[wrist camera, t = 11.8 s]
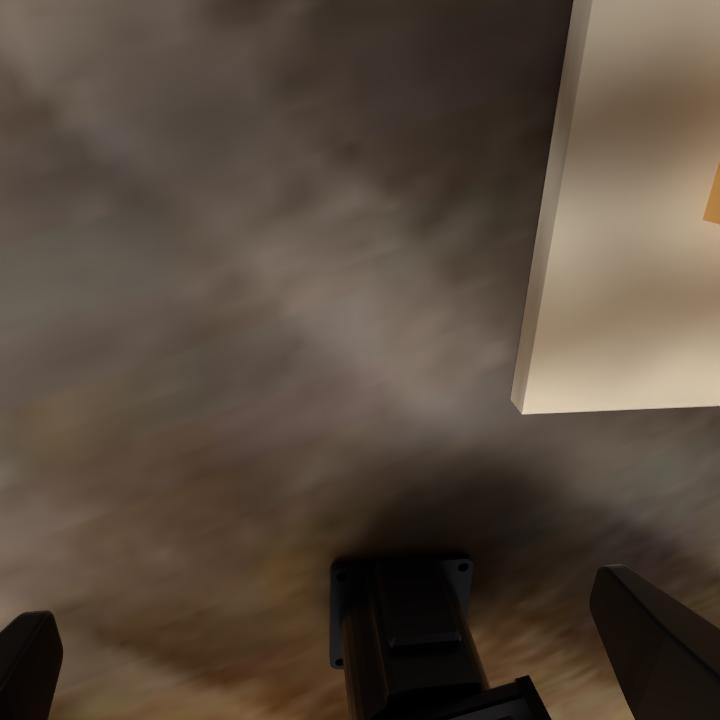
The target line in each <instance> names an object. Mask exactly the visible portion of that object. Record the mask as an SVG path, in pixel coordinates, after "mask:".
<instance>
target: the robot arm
mask: <svg viewBox="0 0 720 720" xmlns="http://www.w3.org/2000/svg"><path fill="white" fill-rule="evenodd" d="M462 563H464V564H462ZM460 564H462V565H460ZM473 569H474V563H473V561H472V558H471V556H470V555H469V554H467V553H462V552H461V553H448V554H434V555H421V556H408V557H394V558H381V559H368V560H354V561H341V562H337V563H335V564H333V565H332V567H331V568H330V644H329V656H330V665H331V667H333V668H335V669H344V672H345V681H346V691H347V700H348V709H349V718H350V720H551V718H550V716H549V714H548V712H547V710H546V708H545V706H544V704H543V702H542V700H541V698H540V696H539V694H538V692H537V690H536V688H535V686H534V685H533V683H532V681H531V679H530V677H529V675H527V676H523V677H520V678H516V679H515V682H513V683H509V684H506V685H502V686H499V687H496V688H492V689H491V688H490V685H489V683H488V680H487V677H486V674H485V671H484V668H483V666H482V663H481V660H480V657H479V654H478V652H477V649H476V646H475V643H474V640H473V638H472V635H471V632H470V629H469V626H468V624H467V621H466V616H467V610H468V603H469V596H470V590H471V583H472V576H473ZM339 573H344V574H339ZM590 610H591V613H592V616H593V619H594V621H595V624H596V626H597V629H598V631H599V634H600V636H601V639H602V642H603V644H604V647H605V649H606V652H607V654H608V657H609V659H610V662H611V664H612V667H613V669H614V672H615V674H616V677H617V679H618V682H619V685H620V687H621V690H622V692H623V694H624V697H625V699H626V701H627V704H628V706H629V708H630V710H631V712H632V714H633V716H634V718H635V720H720V628H719V627H717V626H716V625H714V624H713V623H711V622H710V621H708V620H707V619H705V618H704V617H702V616H701V615H699V614H698V613H696V612H695V611H693V610H692V609H690V608H689V607H687V606H686V605H684V604H683V603H681V602H680V601H678V600H677V599H676V598H674V597H673V596H671V595H670V594H668V593H667V592H665V591H664V590H662V589H661V588H659V587H658V586H656V585H655V584H653V583H652V582H650V581H649V580H647V579H646V578H644V577H643V576H641V575H640V574H638V573H637V572H635V571H634V570H632V569H631V568H629V567H628V566H626V565H623V564H613V565H603V566H601V567H600V568H599V569H598V571H597V574H596V578H595V581H594V585H593V589H592V592H591V596H590ZM62 659H63V646H62V642H61V639H60V635H59V632H58V628H57V625H56V621H55V618H54V615H53V614H52V613H51V612H50V611H34V612H25V613H22V614H21V615H19V616H17V617H16V618H15V619H14V620H13V621H12V622H11V623H10V624H9V625H7V626H6V627H5V628H4V629H3V630H2V631H1V632H0V720H48V717H49V713H50V709H51V705H52V701H53V697H54V693H55V689H56V685H57V681H58V677H59V673H60V669H61V665H62Z"/></svg>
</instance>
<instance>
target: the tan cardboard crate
mask: <svg viewBox="0 0 720 720" xmlns="http://www.w3.org/2000/svg"><path fill="white" fill-rule="evenodd" d="M703 220H705V221H709V222H712V223H716V224H720V161H719V164H718V168H717V171H716V175H715V178H714V182H713V185H712V189H711V192H710V196H709V199H708V203H707V206H706V210H705V213H704V217H703Z"/></svg>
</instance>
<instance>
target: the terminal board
mask: <svg viewBox="0 0 720 720" xmlns="http://www.w3.org/2000/svg"><path fill="white" fill-rule="evenodd" d="M719 161H720V0H574V1H573V7H572V13H571V20H570V26H569V32H568V39H567V45H566V51H565V57H564V64H563V70H562V76H561V83H560V89H559V95H558V102H557V108H556V114H555V120H554V127H553V133H552V139H551V146H550V152H549V158H548V165H547V171H546V177H545V184H544V190H543V196H542V202H541V209H540V215H539V221H538V228H537V234H536V240H535V247H534V253H533V259H532V266H531V272H530V278H529V284H528V291H527V297H526V303H525V310H524V316H523V322H522V329H521V335H520V341H519V348H518V354H517V360H516V366H515V373H514V379H513V385H512V392H511V398H510V400H511V401H512V402H513V403H514V405H515V406H516V407H517V409H518V410H519V411H520V412H521V414H541V413H564V412H587V411H610V410H634V409H657V408H680V407H704V406H720V224H716V223H712V222H709V221H705V220H703V217H704V213H705V210H706V206H707V203H708V199H709V196H710V192H711V189H712V185H713V182H714V178H715V175H716V171H717V168H718V164H719Z"/></svg>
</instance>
